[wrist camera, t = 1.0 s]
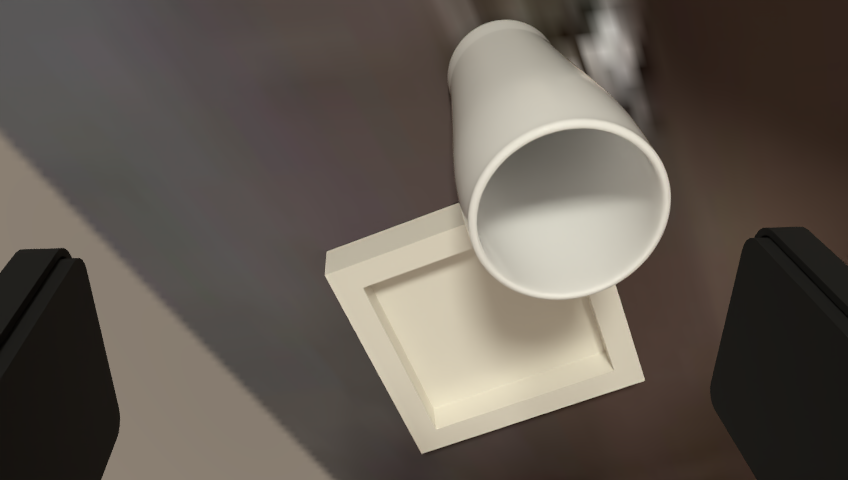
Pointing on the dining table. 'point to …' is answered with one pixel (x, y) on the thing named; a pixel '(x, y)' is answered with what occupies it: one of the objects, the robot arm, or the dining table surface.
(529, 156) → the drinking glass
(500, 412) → the tray
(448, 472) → the dining table surface
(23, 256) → the robot arm
